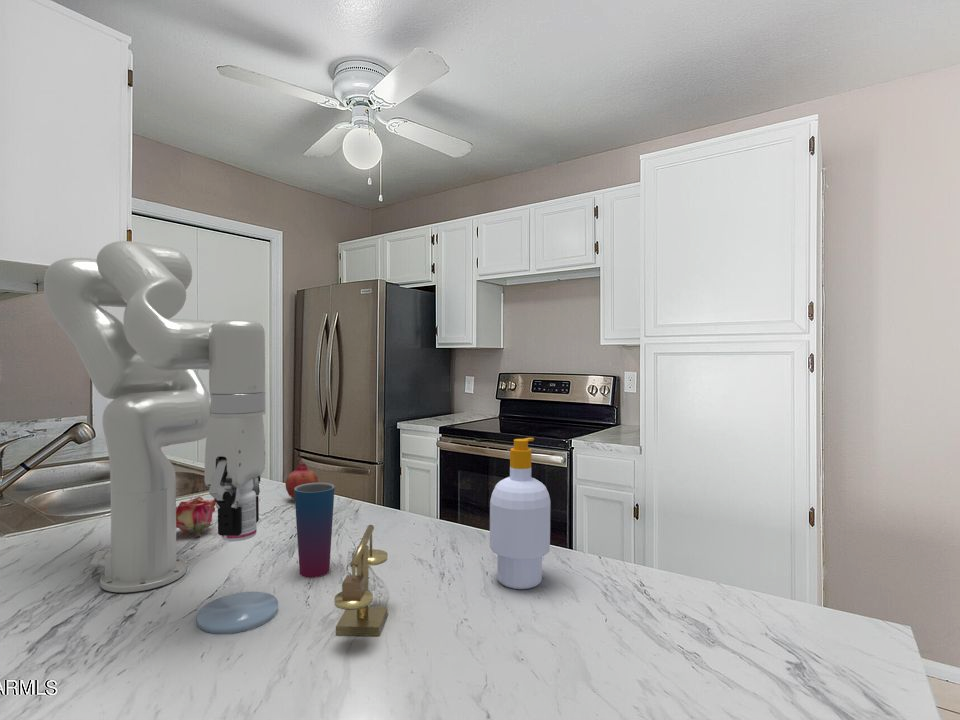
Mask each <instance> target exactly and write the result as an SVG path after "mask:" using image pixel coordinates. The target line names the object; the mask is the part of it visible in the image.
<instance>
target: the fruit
mask: <svg viewBox="0 0 960 720" xmlns="http://www.w3.org/2000/svg"><path fill="white" fill-rule="evenodd" d="M318 478H319V477H318V475H317V474H316V473H315V471H314V470H311V469H309V468H308V466H307V464H306V463H305V462H304V461H300V462H299V463H298V465H297V467H296V469H295V470H293V471H292V472H291V473H289V474H288V475H287V477H286V480H285V489H286V492H287V494H288V496H290V497H291V498H292V499H293V500H295V493H294V488H295V487H297V486H299V485H302V484H307V483H319V479H318Z"/></svg>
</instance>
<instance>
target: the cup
mask: <svg viewBox="0 0 960 720" xmlns="http://www.w3.org/2000/svg"><path fill="white" fill-rule="evenodd" d="M335 487H336V486H335V484H332V483H329V482H318V483H307V484H302V485H299V486H297V487H295V488H294V493H295V499H294V504H295V505H294V506H295V508H294V509H295V522H296V535H297V537H296V539H297V549H298V550H297V553H298V567H299V569H298V570H299V575H300V576H301V577H304V578H310V579H311V578H319V577H324V576H325V575H327V574H328V573H329V572H330V567H331V565H330V564H331V550H332V535H333V534H332V533H333V520H334V519H333V516H334V503H335V502H334V501H335Z"/></svg>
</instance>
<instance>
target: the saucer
mask: <svg viewBox="0 0 960 720" xmlns="http://www.w3.org/2000/svg"><path fill="white" fill-rule="evenodd" d="M278 612H279V600H278V598H277V597H276V596H274V595H273V594H271V593H268V592H265V591H243V592H241V591H240V592H236V593H230V594H226V595H223V596H221V597H217V598H215V599H212V600H211V601H209V602H207V603H205V604H204V605H203V606H201V608H200V609H199V610H198V611H197V613H196V624H197V627H198V628H199V629H200V630H201V631H203V632H206V633H210V634H217V635H218V634H219V635H226V634H227V635H228V634H237V633H240V632H241V633H243V632H246V631H249V630H250V631H251V630H253V629H256V628H259V627H260V626H263V625H265V624H266V623H268V622H270V621H272V619H274V618H275V617H276V616H277V614H278Z"/></svg>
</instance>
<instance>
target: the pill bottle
mask: <svg viewBox="0 0 960 720" xmlns="http://www.w3.org/2000/svg"><path fill="white" fill-rule="evenodd" d="M231 483H232V481H225V485H233V484H231ZM253 486H254V485H253V479H252V480H250V481H248V482H246V483H245V484H243V485H241V488H240V497H239V506H238V507H242V533H241V534H240V535H238V536H226V535H220V536H221V539H222V540H224V541H226V542H240V541H246V540H249V539H252V538H253V537H255V536H256V535H257V532H258V531H257V523H256V493H255V491H253V490H252V489H253ZM225 491H226V492H229V493H230V495H231V496H232V494H233V490H225Z"/></svg>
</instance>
